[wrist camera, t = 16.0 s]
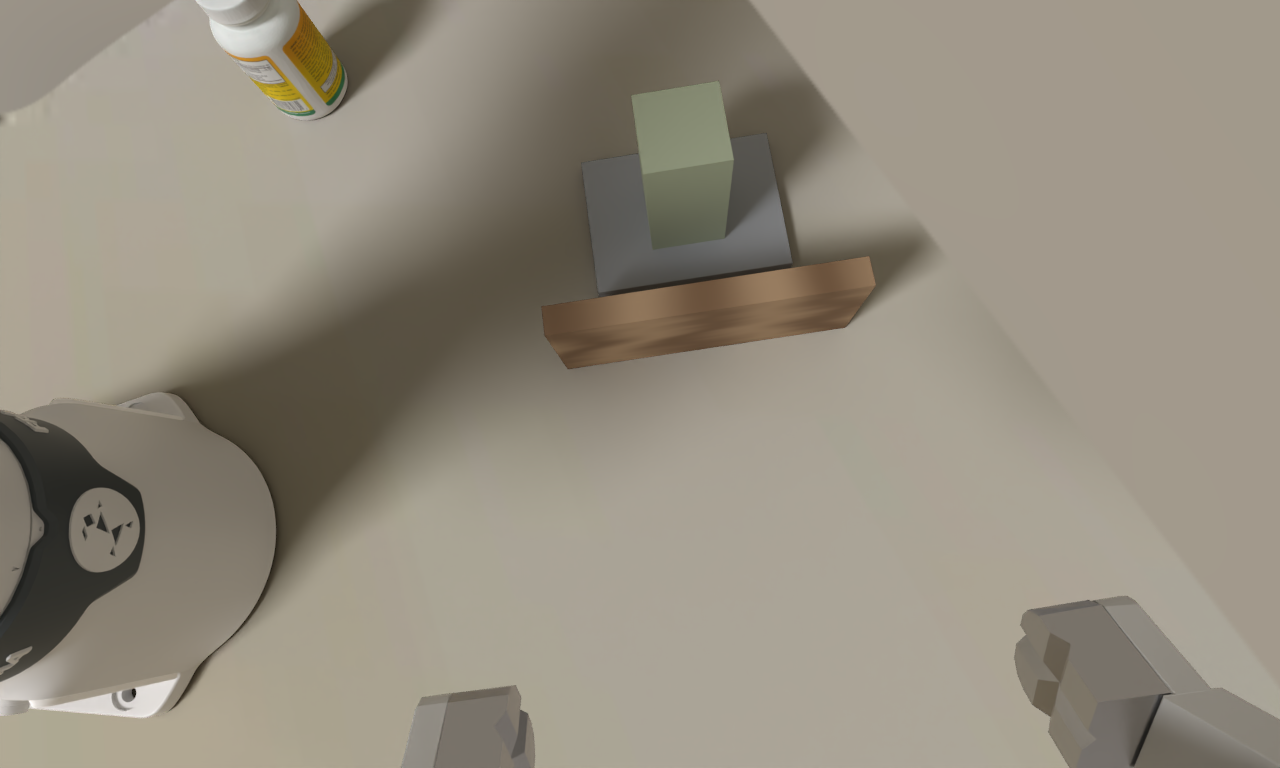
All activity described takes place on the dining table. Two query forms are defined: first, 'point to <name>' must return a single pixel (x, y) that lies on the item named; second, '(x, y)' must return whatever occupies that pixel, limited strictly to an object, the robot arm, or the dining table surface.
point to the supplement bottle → (280, 53)
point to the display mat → (637, 267)
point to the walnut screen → (708, 313)
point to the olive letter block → (684, 163)
